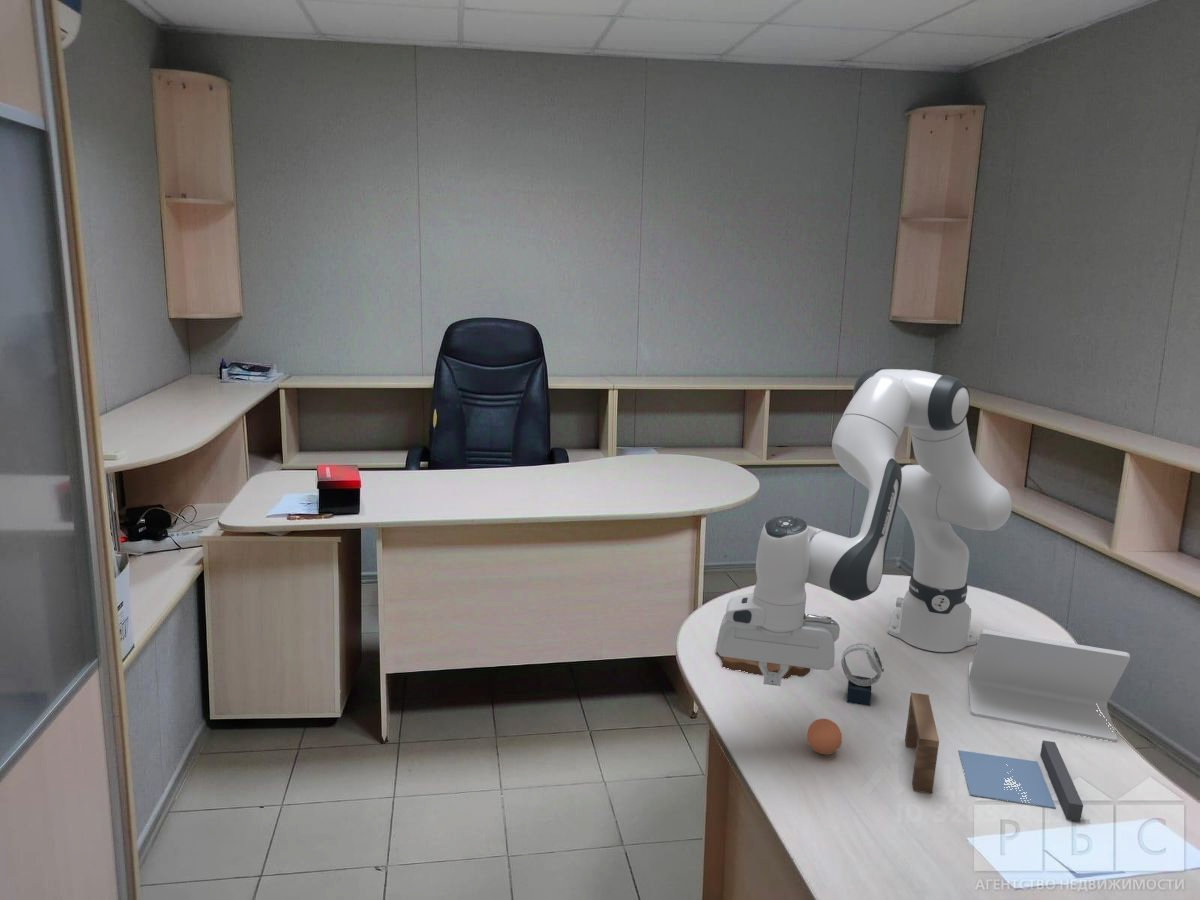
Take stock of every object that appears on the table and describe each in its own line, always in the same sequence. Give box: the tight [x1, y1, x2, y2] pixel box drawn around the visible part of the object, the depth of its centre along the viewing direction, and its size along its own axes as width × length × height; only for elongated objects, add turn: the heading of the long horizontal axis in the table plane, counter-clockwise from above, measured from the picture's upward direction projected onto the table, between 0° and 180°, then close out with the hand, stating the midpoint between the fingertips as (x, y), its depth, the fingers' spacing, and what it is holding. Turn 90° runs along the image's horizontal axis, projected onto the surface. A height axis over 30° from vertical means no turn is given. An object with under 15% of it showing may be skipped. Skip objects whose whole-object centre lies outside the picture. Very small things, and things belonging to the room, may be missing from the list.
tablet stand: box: [967, 629, 1131, 743], centre depth 173 cm, size 18×25×17 cm
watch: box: [840, 643, 885, 707], centre depth 175 cm, size 6×8×11 cm
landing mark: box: [958, 749, 1057, 810], centre depth 152 cm, size 13×13×1 cm
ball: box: [806, 718, 843, 755], centre depth 158 cm, size 6×6×6 cm
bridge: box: [904, 692, 940, 794], centre depth 154 cm, size 3×15×10 cm, turn 167°
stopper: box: [1039, 740, 1084, 823], centre depth 150 cm, size 18×2×3 cm, turn 167°
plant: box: [715, 651, 811, 680], centre depth 192 cm, size 20×20×11 cm
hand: (772, 683), depth 157 cm, fingers closed
